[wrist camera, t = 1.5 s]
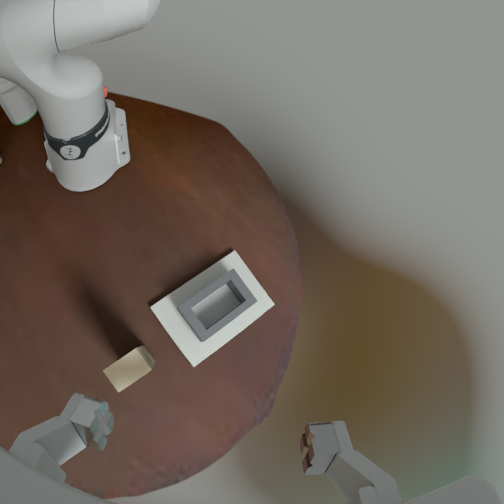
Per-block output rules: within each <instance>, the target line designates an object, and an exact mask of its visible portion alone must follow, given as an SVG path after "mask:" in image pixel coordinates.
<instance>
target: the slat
mask: <svg viewBox="0 0 504 504" xmlns="http://www.w3.org/2000/svg"><path fill="white" fill-rule="evenodd" d="M154 362H155V359H154V358H153V357H152V355H151V354H150V353H149V351H148V350H147V349H146V347H145V346H144V345H143V346H140V347H137V348H135V349H134V350H132V351H131V352H130V353H128V354H127V355H125V356H124V357H122V358H121V359H119V360H118V361H116V362H115V363H113V364H112V365H111V366H109V367H108V368H106V369H105V370H103V372H104V373H105V374H106V376H107V377H108V379H109V380H110V381H111V383H112V384H113V385H114V387H115V388H116V389H117V391H118V392H120V391H122V390H123V389H125V388H126V387H128V386H129V385H130V384H132V383H133V382H135V381H136V380H138V379H139V378H141V377H142V376H144V375H145V374H147V373H148V372H149V371H151V370H152V368H153V365H154Z"/></svg>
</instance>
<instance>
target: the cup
mask: <svg viewBox="0 0 504 504" xmlns="http://www.w3.org/2000/svg"><path fill="white" fill-rule="evenodd" d="M0 105H1V106H2V108H3V110H4V111H5V113H6V114H7V116H8V118H9V119H10V121H11V122H12V124H13V125H21V124H24V123H26V122H28V121H29V120H30V119H31V118H32V117H33V116H34V115H35V114H36V113H37V111H38V109H37V106H36V104H35V102H34V100H33V99H32V97H31V96H30V95H29V94H28V93H27V92H26V91H25V90H24V89H22V88H21V87H20V86H18V85H17V84H15V83H13V82H11V81H9V80H7V79H3V78H0Z"/></svg>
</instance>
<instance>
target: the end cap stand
mask: <svg viewBox="0 0 504 504" xmlns="http://www.w3.org/2000/svg"><path fill="white" fill-rule="evenodd" d="M273 305H275V304H274V303H273V302H272V300H271V299H270V298H269V296H268V295H267V293H266V292H265V291H264V289H263V288H262V287H261V285H260V284H259V283H258V281H257V280H256V278H255V277H254V276H253V274H252V273H251V272H250V270H249V269H248V268H247V266H246V265H245V263H244V262H243V261H242V259H241V258H240V257H239V255H238V254H237V252H236V251H233V252H232V253H230V254H229V255H227V256H226V257H224V258H223V259H221V260H220V261H218V262H217V263H215V264H214V265H212V266H211V267H209V268H208V269H206V270H205V271H203V272H202V273H200V274H199V275H197V276H196V277H194V278H193V279H191V280H190V281H188V282H187V283H185V284H184V285H182V286H181V287H179V288H178V289H176V290H175V291H173V292H172V293H170V294H169V295H167V296H166V297H164V298H163V299H161V300H160V301H158V302H157V303H156V304H154V305H153V306H151V307H150V308H151V310H152V311H153V313H154V314H155V315H156V317H157V318H158V320H159V321H160V323H161V324H162V326H163V327H164V328H165V330H166V331H167V333H168V334H169V335H170V337H171V338H172V339H173V341H174V342H175V344H176V345H177V346H178V348H179V349H180V350H181V352H182V353H183V354H184V355H185V357H186V358H187V359H188V361H189V362H190V363H191V364H192V366H193V367H195V366H196V365H197V364H199V363H200V362H201V361H203V360H204V359H205V358H207V357H208V356H210V355H211V354H212V353H213V352H215V351H216V350H217V349H219V348H220V347H221V346H223V345H224V344H225V343H227V342H228V341H229V340H231V339H232V338H233V337H234V336H236V335H237V334H238V333H240V332H241V331H242V330H243V329H245V328H246V327H247V326H248V325H250V324H251V323H252V322H254V321H255V320H256V319H257V318H259V317H260V316H261V315H262V314H264V313H265V312H266V311H267V310H268V309H270V308H271V307H272V306H273Z"/></svg>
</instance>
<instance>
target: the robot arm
mask: <svg viewBox="0 0 504 504" xmlns="http://www.w3.org/2000/svg"><path fill="white" fill-rule="evenodd" d="M159 4H160V0H6V1H5V2H3V3H2V4H0V78H3V79H7V80H9V81H11V82H13V83H15V84H17V85H18V86H20V87H21V88H22V89H24V90H25V91H26V92H27V93H28V94H29V95H30V96H31V97H32V99H33V100H34V102H35V104H36V106H37V109H38V111H39V113H40V116H41V118H42V121H43V130H44V135H45V138H46V141H45V143H44V145H45V149H46V152H47V156H48V160H47V162H46V166H47V168H48V170H50V171H51V172H53V173H54V174H55V176H56V178H57V180H58V181H59V183H60V184H61V185H62V186H63V187H65V188H66V189H69V190H72V191H87V190H91V189H94V188H96V187H98V186H100V185H102V184H103V183H104V182H106V181H107V180H108V179H109V178H110V177H111V176H112V175H113V174H114V172H115V171H116V170H117V169H118V168H120V167H122V166H124V165H125V164H127V163H128V162H129V161H130V151H129V143H128V134H127V125H126V115H125V111H124V110H122V109H119V108H116V107H115V103H114V102H113V101H111V100H107V99H105V98H104V97H106V96H107V91H108V90H107V87H104V86H103V74H102V71H101V70H100V68H99V66H98V65H97V64H95V63H94V62H93V61H92V60H90V59H88V58H86V57H82V56H76V55H72V54H69V53H67V52H65V51H67V50H70V49H73V48H77V47H81V46H85V45H89V44H94V43H98V42H103V41H108V40H111V39H114V38H117V37H120V36H123V35H126V34H128V33H132V32H134V31H138V30H141V29H143V28H144V27H145V26H146V25H147V24H148V23H149V21H151V19H152V18H153V17H154V15H155V13H156V11H157V9H158V7H159ZM123 153H125V154H123ZM108 408H109V406H108V404H107V402H104V401H101V400H98V399H94V398H91V397H88V396H85V395H82V394H79V393H75V394H73V396H72V397H71V399H70V400H69V402H68V403H67V405H66V407H65V408H64V410H63V411H62V413H61V415H60V416H59V417H58V416H55V417H53V418H51V419H49V420H47V421H45V422H43V423H41V424H39V425H37V426H34V427H32V428H30V429H28V430H26V431H23V432H21V433H20V434H19V436H18V437H17V439H16V440H15V442H14V443H13V445H12V447H11V448H10V450H9V452H8V451H7V450H5V449H4V448H2V447H1V446H0V504H116V503H113V502H110V501H107V500H104V499H101V498H99V497H96V496H93V495H91V494H88V493H86V492H83V491H81V490H79V489H76V488H74V487H72V486H69V485H67V484H65V483H64V481H65V478H66V473H65V472H64V471H63V470H62V469H61V467H60V465H61V464H63V463H64V462H66V461H67V460H68V459H70V458H71V457H73V456H74V455H76V454H77V453H78V452H80V451H81V450H83V449H84V448H85V447H86V446H88V447H92V448H95V449H98V450H101V451H103V449H104V447H105V445H106V443H107V437H106V435H108V434H109V433H111V431H112V428H113V422H114V421H113V416H112V414H111V413H110V412H109V411H108ZM300 449H301V455H303V456H304V457H305V458H304V460H303V462H302V464H303V470H304V475H314V474H324V475H325V476H326V477H327V478H328V479H329V480H330V481H331V483H332V484H334V486H335V487H336V488H337V489H338V490H339V491H340V492H341V493H342V494H343V495H344V496H345V497H346V498H347V499H348V500H349V501H348V502H347V503H346V504H503V503H502V501H501V498H500V496H499V494H498V491H497V490H496V488H495V487H494V486H493V485H492V484H490V483H489V482H487V481H485V480H483V479H481V478H478V477H476V476H473V475H468V476H465V477H463V478H461V479H459V480H457V481H455V482H453V483H451V484H448V485H446V486H444V487H442V488H440V489H437V490H435V491H433V492H430V493H428V494H425V495H423V496H420V497H417V498H415V499H412V500H409V501H406V502H403V503H402V500H401V497H400V494H399V491H398V488H397V485H396V482H395V479H394V478H392V477H390V476H389V475H388V474H387V473H385V472H384V471H383V470H381V469H380V468H378V467H377V466H376V465H375V464H373V463H372V462H371V461H369V460H368V459H367V458H366V457H364V456H363V455H361V454H360V453H359V452H358V451H353V448H352V445H351V441H350V438H349V435H348V432H347V429H346V425H345V423H344V421H336V422H322V423H308V424H306V426H305V433H304V434H302V437H301V443H300Z"/></svg>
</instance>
